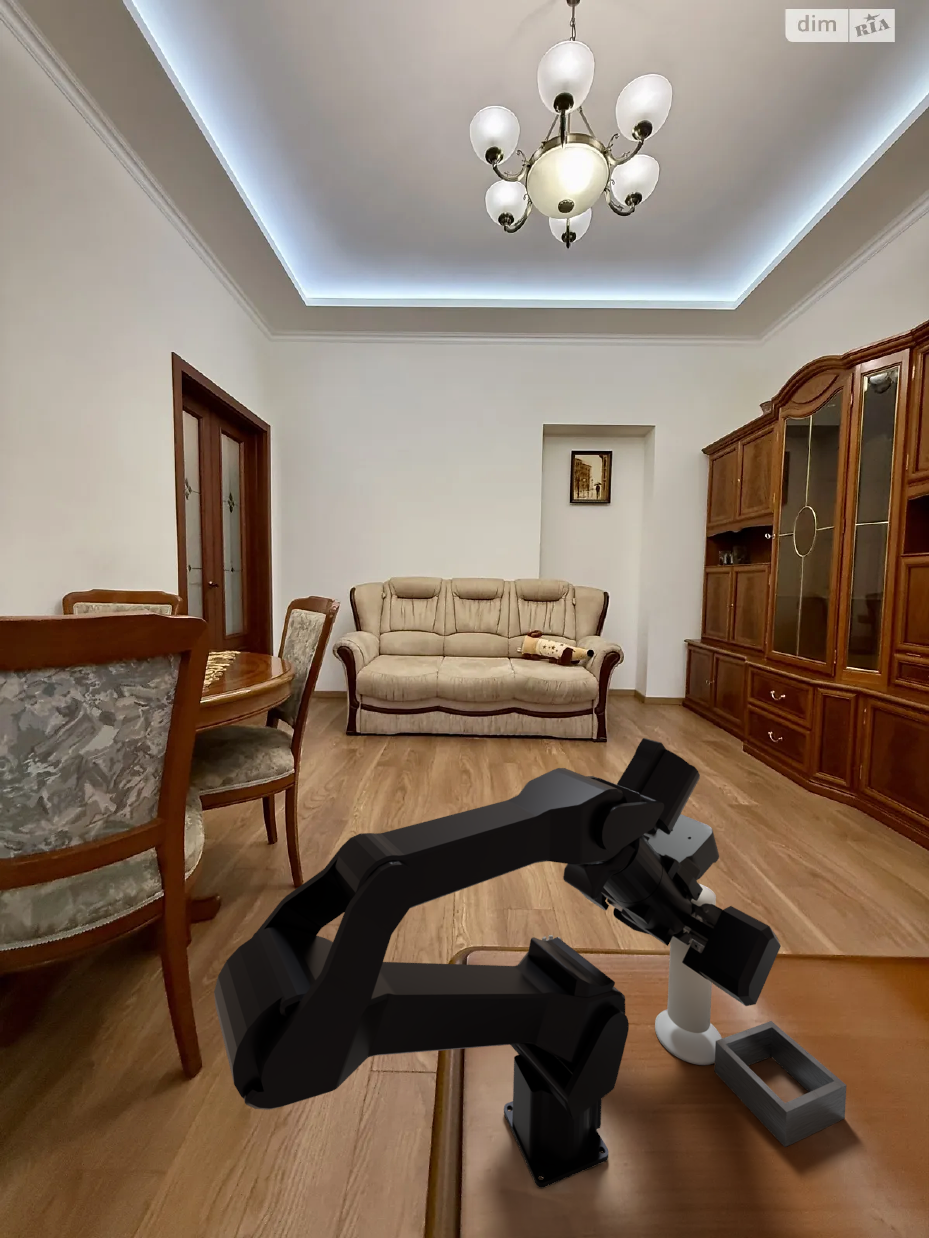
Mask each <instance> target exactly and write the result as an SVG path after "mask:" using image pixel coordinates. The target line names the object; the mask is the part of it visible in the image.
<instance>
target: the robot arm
mask: <svg viewBox="0 0 929 1238" xmlns="http://www.w3.org/2000/svg"><path fill="white" fill-rule="evenodd" d="M700 775H701V774H700V772H699V771H698V769H697V768H696V767H695V765H692V764H690V763H689V762H688V761H686V760H685V759H684V758H682V757H681V756H680V755H678V754H677V753H674V752H672V751H671V750H669V749H666V747H665V746H664V744H663V743H662V742H661V741H657V740H653V739H650V738H647V737H643V738H642V739H641V741H640V742H639V744H638V746H637V748H636V750H635V752H634V754H633V756H632V757H631V760H630V762H629V763H628V765H627V767H626V768H625V770H624V772H623V773H622V775H621V776H620V778H619V779H618V781H617V782H616V783H614V782H611V781H609V780H606V779H603V778H601V777H597V776H595V775H587V776H586V775H584V774H582V773H578V772H576V771H574V770H571V769H568V768H566V767H565V768H564V767H557V768H555V769H552V770H550V771H548V772H546V773H543V774H541V775H539V776H537V777H535V778H533V779H531V780H529V781H528V782H527V783H526V784H525V785H524V786H523V788H522V789H521V791H520V792H519V794H518V795H515V796H513V797H511V798H509V799H507V800H503V801H498V802H495V803H492V804H488V805H484V806H481V807H477V808H472V809H469V810H468V809H467V810H465V811H464V810H463V811H461V812H457V813H453V814H449V815H446V816H441V817H438V818H434V819H430V820H427V821H423V822H419V823H414V824H412V825H407V826H403V827H400V828H396V829H392V830H388V831H384V832H380V833H377V832H376V833H375V832H374V833H373V832H371V833H370V832H366V833H365V832H364V833H358V834H355V835H354V836H351V837H350V838H349V839H348V840H347V841H346V842H344V844H342V845H341V847H340V848H339V849H338V850H337V852H336V853H335V854H334V855H333V857H331V859H330V861H329V862H328V863H327V865H326V866H325V867H324V868H323V869H322V870H320V871H319V872H318V873H316V874H315V875H314V876H313V877H311V878H309V879H308V880H306V881H305V882H304V883H302V884H301V885H300V886H298V887H297V888H295V889H294V890H293V891H291V892H290V893H288V894H287V895H286V896H285V897H284V898H283V899H281V900H280V901H279V903H278V904H277V905H276V907H274V909H273V911H272V912H271V913H270V914H269V915H268V917H267V918H266V920H264V922H263V923H262V924H261V925H260V927H259V928H258V929H257V930H256V932H255V933H253V935H252V937H251V938H249V939H248V940H247V941H246V942H243V944H241V945H240V946H238V948H236V950H235V951H234V952H233V953H232V954H231V955H230V956H229V958H227V960H226V961H225V962H224V965H223V966H222V968H221V970H220V972H219V974H218V976H217V979H216V984H215V987H214V991H213V993H214V995H213V996H214V1006H215V1010H216V1013H217V1019H218V1022H219V1027H220V1030H221V1036H222V1039H223V1044H224V1046H225V1047H224V1049H225V1052H226V1057H227V1060H228V1064H229V1069H230V1074H231V1077H232V1081H233V1085H234V1087H235V1088H236V1090H237V1092H238V1094H239V1095H240V1096H241V1097H240V1098H242V1099H243V1100H244V1104H245V1105H246V1106H248V1107H250V1108H253V1109H255V1110H264V1111H268V1110H269V1111H270V1110H274V1109H279V1108H283V1107H286V1106H289V1105H292V1104H296V1103H298V1102H302V1101H305V1100H308V1099H312V1098H315V1097H318V1096H322V1095H324V1094H327V1093H332V1092H333V1091H335V1090H337V1089H338V1088H339V1087H340V1086H341V1085H342V1084H343V1083H344V1082H345V1081H347V1079H348V1078H349V1077H350V1076H351V1075H352V1074H353V1073H354V1072H356V1070H357V1069H358V1068H359V1067H360V1066H361V1065H362V1064H363V1063H364V1062H365V1061H367V1059H368V1058H372V1057H376V1056H387V1055H388V1056H389V1055H390V1056H391V1055H401V1054H413V1053H424V1052H439V1051H449V1050H459V1049H460V1050H461V1049H462V1050H463V1049H474V1048H485V1047H497V1046H498V1047H500V1046H508V1045H509V1046H511V1047H512V1049H513V1050H514V1051H515V1052H516V1053H517V1055H515V1056H514V1057H513V1085H512V1087H513V1089H512V1101H508V1102H507V1103H505V1104H504V1107H503V1114H504V1116H505V1119H506V1121H507V1124H508V1126H509V1128H510V1130H511V1133H512V1135H513V1137H514V1139H515V1142H516V1144H517V1146H518V1148H519V1150H520V1153H521V1156H522V1157H523V1159H524V1162H525V1164H526V1166H527V1168H528V1171H529V1172H530V1175H531V1178H532V1180H533V1182H534V1183H535V1185H536V1187H538V1188H540V1189H544V1188H546V1187H549V1186H551V1185H553V1184H556V1183H558V1182H561V1181H562V1180H566V1179H567V1178H570V1177H572V1176H574V1175H577V1174H579V1173H581V1172H584V1171H587V1170H588V1169H591V1168H593V1167H596V1166H598V1165H601V1164H603V1163H605V1162H607V1161H608V1159H609V1149H608V1147H607V1145H606V1144H605V1142H604V1139H603V1138H602V1137H601V1135H600V1133H599V1132H598V1130H599V1129H601V1126H602V1103H603V1102H602V1101H603V1098H604V1097H606V1096H607V1095H608V1094H610V1093H611V1092H612V1091H613V1090H615V1088H616V1085H617V1080H618V1076H619V1071H620V1067H621V1065H622V1064H621V1063H622V1059H623V1055H624V1051H625V1048H626V1043H627V1039H628V1034H629V1027H630V1023H629V1019H628V1017H627V1015H626V996H625V995H624V993H622V992H621V991H620V990H619V989H618V988H616V987H615V984H616V982H615V981H614V980H613V979H612V978H610V977H609V976H608V975H607V974H605V972H603V971H602V970H600V969H599V968H598V967H597V966H596V965H594V964H593V963H591V962H590V961H589V960H587V959H586V958H585V957H584V956H583V955H581V954H580V953H579V952H578V951H576V950H575V949H574V948H572V947H571V946H570V945H569V944H568V943H566V942H565V941H564V940H563V939H562V938H561V937H559V936H556V937H555V938H554V937H553V939H552V940H548V939H546V940H547V941H544V940H542V939H539V938H537V937H533V936H532V937H531V938H530V941H529V946H528V951H527V952H526V953H525V955H524V956H523V957H522V958H521V960H520V961H519V963H518V964H516V965H496V964H495V965H493V964H492V965H491V964H490V965H489V964H463V963H462V964H460V963H456V964H454V963H436V962H435V963H432V962H431V963H430V962H429V963H428V962H400V961H398V962H396V961H384V959H385V956H386V953H387V950H388V947H389V945H390V940H391V938H392V935H393V933H395V931H396V929H397V927H399V924H400V923H401V922H402V920H403V919H404V918H405V916H406V914H408V912H409V910H411V909H412V908H415V907H417V906H420V905H421V906H422V905H423V904H426V903H428V902H432V901H434V900H437V899H439V898H442V897H446V896H448V895H451V894H454V893H456V892H459V891H462V890H464V889H468V888H471V887H473V886H476V885H479V884H481V883H484V882H487V881H489V880H493V879H496V878H498V877H500V876H503V875H506V874H509V873H511V872H514V871H517V870H520V869H524V868H526V867H528V866H531V865H534V864H538V863H546V862H550V863H551V862H552V863H559V864H566V865H565V867H564V870H563V876H562V877H563V878H562V880H563V881H564V882H565V883H567V884H568V885H570V886H571V887H573V888H575V889H576V890H577V891H579V892H580V893H581V894H582V895H583V896H584V897H585V898H586V899H587V900H589V901H590V902H591V903H593V904H594V905H596V906H597V907H599V908H601V910H602V911H608V909H609V907H610V906H611V907H613V912H612V914H613V916H614V917H615V919H616V920H618V921H620V922H621V923H622V924H624V925H626V926H627V927H628V928H629V929H631V930H633V931H636V932H639V933H643V934H645V935H650V936H652V937H653V938H655V939H656V940H658V941H660V942H661V943H663V944H664V945H665V946H667V947H669V946H670V941H671V939H672V937H674V938H676V939H677V940H679V941H681V942H682V943H684V944H685V945H689V944H690V943H691V941H692V940H693V941H692V943H691V945H690V947H689V949H688V951H687V953H686V955H685V957H684V959H683V961H682V963H683V964H685V965H686V966H688V967H689V968H691V969H692V970H693V971H695V972H696V973H698V974H699V975H701V976H702V977H704V978H705V979H707V980H709V981H710V982H712V985H714V986H715V987H717V989H720V990H721V991H723V992H724V993H726V994H727V995H729V996H730V997H732V998H733V999H734V1000H736V1001H738V1002H740V1003H741V1005H743V1006H745V1007H749V1006H754V1005H756V1004H757V1003H758V1000H759V998H760V995H761V993H762V991H763V989H764V986H765V984H766V981H767V979H768V977H769V974H770V972H771V970H772V967H773V965H774V964H775V961H776V959H777V956H778V953H779V951H780V949H781V943H780V941H779V938H778V936H777V935H776V933H775V932H774V931H773V929H772V927H771V926H770V925H768V924H767V923H765V922H762V921H760V920H759V919H757V918H755V917H752V916H751V915H749V914H747V913H745V912H743V911H742V910H739V909H738V908H736V907H734V906H732V905H730V906H728V907H725V908H724V909H722V908H720V907H718V906H717V905H713V904H708V903H705V904H702V905H701V906H697V905H696V904H694V903H692V902H691V900H692V899H694V900H695V901H697V900H698V898H699V896H700V894H701V892H702V890H703V889H702V887H701V886H700V885H699V884H700V883H699V882H698V880H700V879H701V878H702V877H703V876H704V875H705V873H706V872H707V871H708V870H709V869H710V868H711V866H712V865H713V864H715V863H717V861H718V860H719V858H720V853H719V848H718V846H717V843H716V838H715V834H714V830H713V828H712V827H711V826H710V825H709V824H707V823H704V822H701V821H698V820H697V819H695V818H691V817H688V816H686V815H684V814H682V812H683V810H684V809H685V806H686V804H687V803H688V801H689V799H690V798H691V795H692V793H693V792H694V790H695V788H696V786H697V784H698V783H699V780H700V779H701V776H700ZM341 915H342V919H341V921H340V923H339V926H338V928H337V931H336V934H335V936H334V939H333V941H332V940H330V939H327V938H326V937H324V936H319V935H318V934H319V932H320V931H321V930H322V929H323V928H324V927H325V926H327V925H328V924H330V923H331V922H332V921H334V920H335V919H337V918H338V917H340V916H341ZM691 915H692V916H694V915H695V918H694V917H692V916H691ZM698 917H700V918H701V919H702V920H701V919H700V918H698ZM683 928H685V929H686V930H688V931H690V932H689V933H688V932H687V931H686V932H685V930H684V929H683ZM558 937H559V938H558ZM560 938H561V939H560Z"/></svg>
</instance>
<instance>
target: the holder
mask: <svg viewBox="0 0 929 1238" xmlns="http://www.w3.org/2000/svg"><path fill="white" fill-rule="evenodd" d="M770 1058H772V1059H773V1060H774V1061H775V1062H776V1063H777V1064H778V1065H779V1066H780V1067H781V1068H782V1069H784V1071H786V1072H787V1073H788V1074H789V1075H790V1076H791V1077H792V1078H793V1079H794V1080H795V1081H796V1082H798V1083H799V1084H800V1086H802V1087H803V1088H804V1089H805V1090H806V1091H807V1093H805V1094H802V1095H800V1096H798V1097H795V1098H793V1099H791V1100H789V1101H786V1102H785V1101H783V1099H782V1098H780V1097H779V1096H778V1095H777V1094H776V1092H774V1090H772V1089H771V1088H770V1087H769V1086H768V1084H766V1082H764V1081H763V1079H761V1077H760V1076H758V1075H757V1074H756V1073H755V1072H754V1071H753V1070H752V1069H751V1068H750V1066H751V1065H754V1064H756V1063H758V1062H762V1061H763V1060H766V1059H770ZM713 1069H714V1071H713V1072H714V1073H715V1074H716V1075H717V1076H718V1077H719V1078H720V1079H721V1081H722V1082H723V1083H724V1084H725V1085H726V1086H727V1087H728V1088H729V1089H730V1090H731V1091H732V1093H734V1095H735V1096H736V1097H737V1098H738V1099H739V1100H740V1101H741V1102H742V1103H743V1104H744V1105H745V1107H746V1108H747V1109H748V1110H750V1112H751V1113H752V1114H753V1115H754V1116H755V1117H756V1118H757V1119H758V1120H759V1122H761V1124H762V1125H763V1126H764V1127H766V1129H767V1130H768V1131H769V1133H771V1134H772V1136H773V1137H775V1139H776V1140H778V1142H779V1143H780V1144H781V1145H782V1146H783V1147H784V1148H787V1147H788V1146H790V1145H793V1144H796V1143H797V1142H799V1141H802V1140H804V1139H805V1138H807V1137H809V1136H812V1135H813V1134H815V1133H817V1132H820V1131H821V1130H824V1129H826V1128H828V1127H830V1126H832V1125H834V1124H837V1123H838V1122H840V1121H842V1120H845V1118H846V1104H847V1103H846V1101H847V1100H846V1099H847V1084H846V1083H845V1082H843V1080H842V1079H840V1078H839V1076H837V1075H835V1074H834V1073H833V1072H832V1071H831V1070H830V1069H828V1068H827V1067H826V1066H825V1065H824V1064H823V1063H821V1062H820V1061H819V1060H818V1059H817V1058H816V1057H815V1056H814V1055H812V1054H811V1053H810V1052H808V1051H807V1050H806V1049H805V1048H804V1047H802V1046H801V1045H800V1044H799V1043H798V1042H797V1041H795V1040H794V1038H792V1037H791V1036H790V1035H788V1034H787V1033H786V1032H784V1030H782V1028H780V1027H779V1026H778V1025H777V1024H776V1023H775V1022H774V1021H772V1020H769V1021H767V1022H764V1023H761V1024H758V1025H755V1026H752V1027H750V1028H748V1029H746V1030H742V1031H739V1032H737V1033H734V1034H731V1035H728V1036H726V1037H722V1039H720V1040H717V1041H716V1044H715V1063H714V1068H713Z"/></svg>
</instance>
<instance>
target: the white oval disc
mask: <svg viewBox="0 0 929 1238" xmlns="http://www.w3.org/2000/svg"><path fill="white" fill-rule="evenodd" d="M654 1023H655V1024H654V1030H655V1033H656V1034H655V1035H656V1037H657V1040H658V1041H659V1042H660V1044H661V1045H662V1046H663V1047H664V1048H665V1049H666V1050H667V1051H668V1052H669V1054H671V1055H673V1056H675V1057H677V1058H678V1059H679V1060H682V1061H684V1062H687V1063H689V1064H693V1065H697V1066H698V1065H699V1066H709V1065H713V1064H715V1044H716V1041H717V1040H720V1039H722V1038H723V1037H722V1035H721V1034H720V1031H718V1029H717V1028H716V1027H715V1026H714V1024H712V1022H710V1027H709V1029H708V1030H707V1031H705V1032H703V1033H692V1032H688V1031H686V1030H684V1029H682V1028H680V1027H678V1026H677V1025H676V1024H675V1023H673V1021H672V1020H671V1019H670V1018H669V1016H668V1012H667V1009H664V1010H662V1011H661V1012H660V1013H658V1015H656V1018H655V1021H654Z"/></svg>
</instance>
